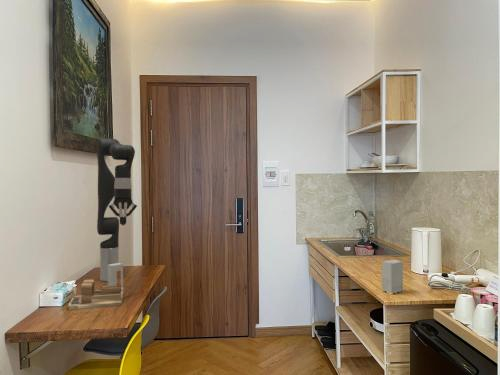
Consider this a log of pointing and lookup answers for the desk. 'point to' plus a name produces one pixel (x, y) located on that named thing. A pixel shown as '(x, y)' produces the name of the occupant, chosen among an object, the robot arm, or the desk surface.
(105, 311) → the desk surface
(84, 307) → the tunnel board
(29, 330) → the desk surface
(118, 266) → the skincare box
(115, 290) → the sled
